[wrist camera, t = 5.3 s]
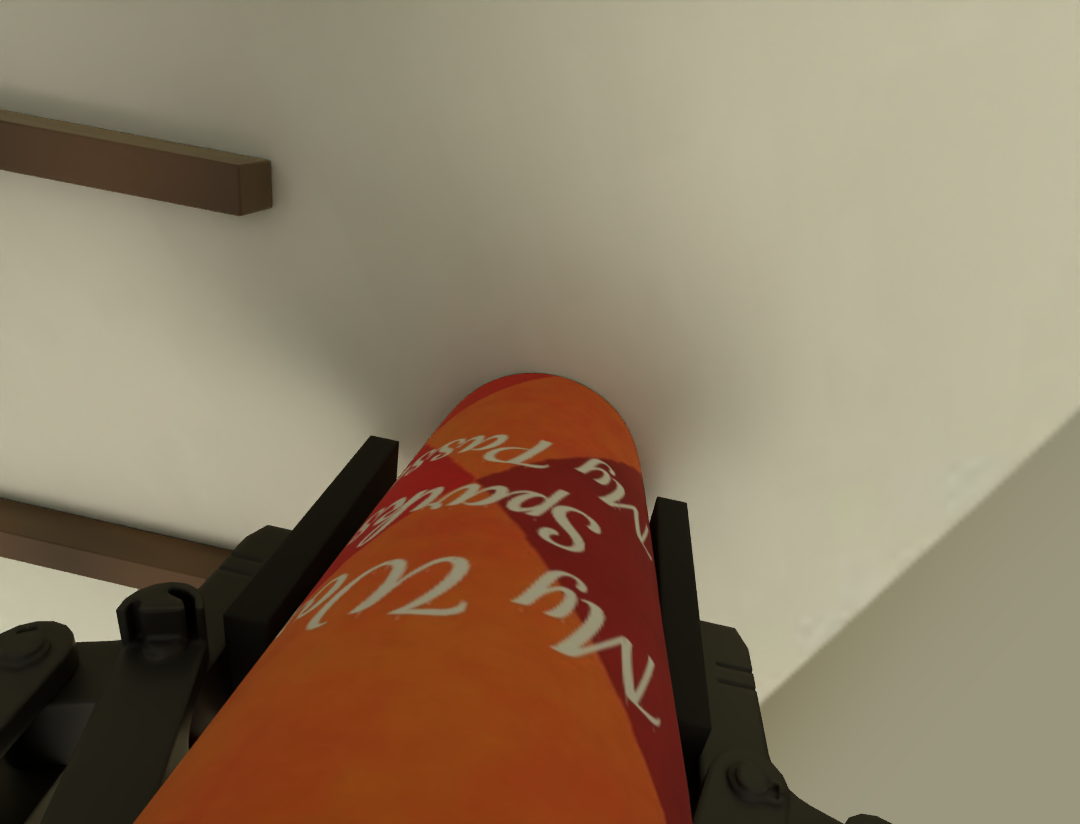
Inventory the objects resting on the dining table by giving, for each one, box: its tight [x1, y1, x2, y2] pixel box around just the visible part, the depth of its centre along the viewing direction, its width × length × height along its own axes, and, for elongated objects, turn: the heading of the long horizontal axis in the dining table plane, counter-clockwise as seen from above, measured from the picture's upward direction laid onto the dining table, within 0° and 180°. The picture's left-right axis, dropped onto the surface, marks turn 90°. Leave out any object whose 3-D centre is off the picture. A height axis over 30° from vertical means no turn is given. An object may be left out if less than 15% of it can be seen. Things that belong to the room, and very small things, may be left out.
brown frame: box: [0, 110, 272, 589], centre depth 19 cm, size 15×14×2 cm
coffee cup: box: [133, 373, 692, 824], centre depth 12 cm, size 8×8×15 cm
